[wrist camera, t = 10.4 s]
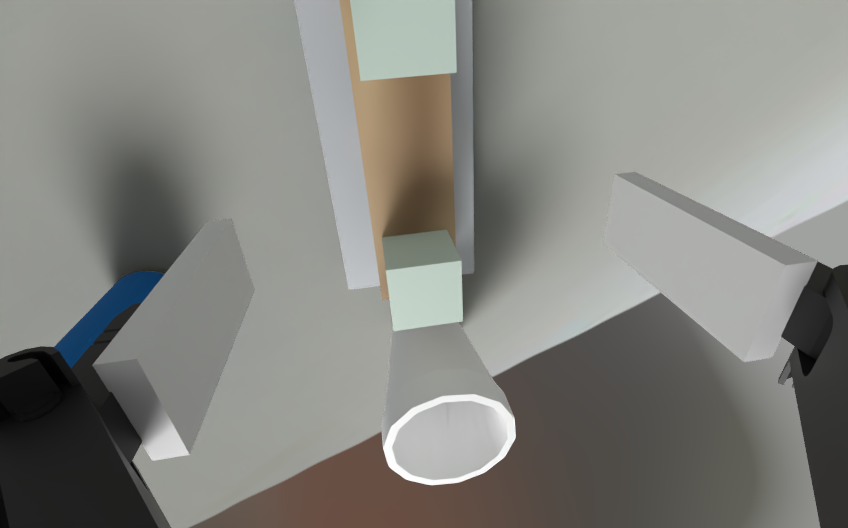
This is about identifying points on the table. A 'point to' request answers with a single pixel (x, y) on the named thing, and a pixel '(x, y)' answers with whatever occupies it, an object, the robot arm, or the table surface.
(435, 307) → the block
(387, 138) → the tan wooden bar
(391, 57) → the block
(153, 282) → the beverage can
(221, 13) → the table surface
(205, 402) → the robot arm
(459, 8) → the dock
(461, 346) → the foam cup
